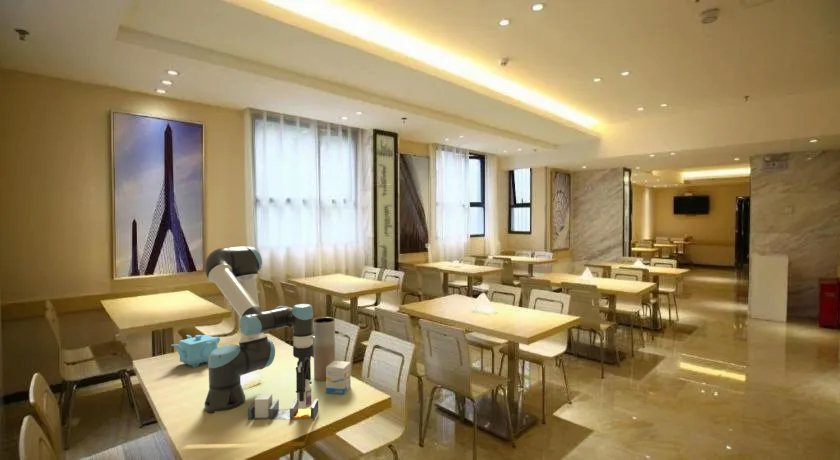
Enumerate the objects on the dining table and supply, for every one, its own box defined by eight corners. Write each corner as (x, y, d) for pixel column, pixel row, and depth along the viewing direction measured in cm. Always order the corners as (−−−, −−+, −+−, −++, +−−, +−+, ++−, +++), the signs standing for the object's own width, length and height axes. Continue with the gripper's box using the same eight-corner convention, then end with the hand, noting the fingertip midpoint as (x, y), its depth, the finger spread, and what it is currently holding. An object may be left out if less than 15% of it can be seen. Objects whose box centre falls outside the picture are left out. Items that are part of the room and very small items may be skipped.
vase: (323, 372, 208) (322, 316, 207) (339, 375, 203) (338, 318, 202) (309, 379, 199) (308, 321, 198) (326, 382, 194) (325, 323, 193)
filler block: (255, 417, 159) (254, 399, 159) (259, 411, 164) (259, 393, 164) (268, 417, 159) (268, 399, 159) (272, 411, 164) (272, 393, 164)
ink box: (344, 394, 181) (343, 368, 181) (325, 393, 183) (325, 366, 182) (351, 386, 190) (350, 361, 189) (333, 385, 191) (333, 360, 191)
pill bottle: (294, 407, 160) (293, 382, 160) (302, 401, 165) (302, 377, 165) (306, 409, 158) (305, 384, 158) (314, 403, 163) (314, 379, 163)
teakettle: (222, 356, 232) (221, 329, 232) (211, 368, 214) (211, 339, 213) (185, 358, 229) (184, 331, 228) (171, 370, 210) (170, 341, 210)
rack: (247, 422, 157) (247, 409, 157) (255, 412, 165) (255, 399, 165) (313, 421, 158) (313, 408, 158) (318, 411, 166) (318, 398, 166)
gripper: (307, 352, 152) (308, 416, 153) (318, 338, 170) (319, 394, 171) (286, 353, 152) (287, 416, 153) (299, 338, 170) (300, 394, 171)
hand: (304, 404), depth 162 cm, fingers closed on pill bottle, 5 cm apart
